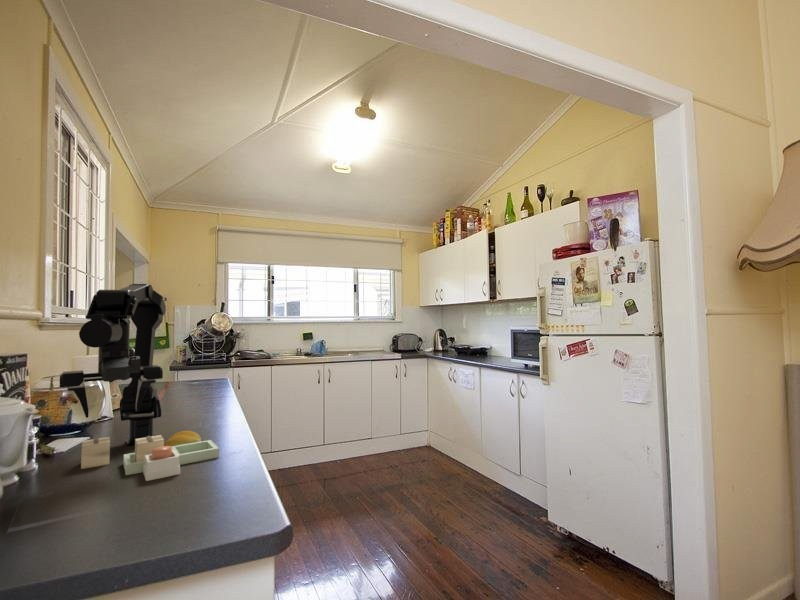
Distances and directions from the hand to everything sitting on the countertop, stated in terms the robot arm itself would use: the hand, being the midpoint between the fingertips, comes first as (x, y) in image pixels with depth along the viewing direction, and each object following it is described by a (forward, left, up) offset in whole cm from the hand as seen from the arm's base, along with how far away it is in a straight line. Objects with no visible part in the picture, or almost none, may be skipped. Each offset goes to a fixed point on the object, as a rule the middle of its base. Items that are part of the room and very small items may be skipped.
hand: (112, 414), depth 91 cm
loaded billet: (+6, +7, -11) cm, 14 cm away
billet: (-3, -3, -12) cm, 12 cm away
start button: (+14, +8, -8) cm, 18 cm away
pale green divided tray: (+6, +11, -12) cm, 17 cm away
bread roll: (-6, +15, -12) cm, 20 cm away
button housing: (+14, +8, -12) cm, 20 cm away
